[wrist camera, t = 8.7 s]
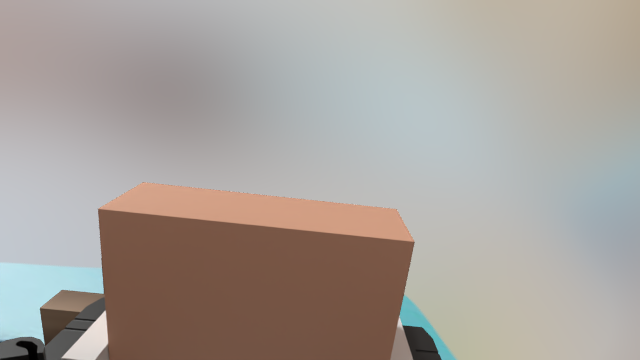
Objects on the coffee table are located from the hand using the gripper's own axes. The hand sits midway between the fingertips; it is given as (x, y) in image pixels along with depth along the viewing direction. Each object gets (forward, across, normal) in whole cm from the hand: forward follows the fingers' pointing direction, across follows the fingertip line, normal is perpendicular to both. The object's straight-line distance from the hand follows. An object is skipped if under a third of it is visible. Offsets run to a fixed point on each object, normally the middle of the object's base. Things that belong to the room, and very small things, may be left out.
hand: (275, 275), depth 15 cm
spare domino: (-5, 0, -7) cm, 9 cm away
